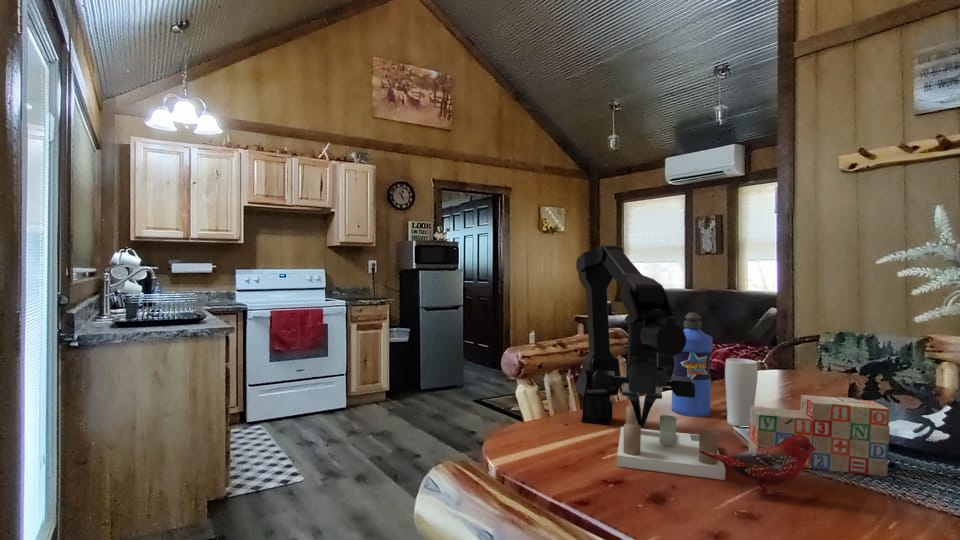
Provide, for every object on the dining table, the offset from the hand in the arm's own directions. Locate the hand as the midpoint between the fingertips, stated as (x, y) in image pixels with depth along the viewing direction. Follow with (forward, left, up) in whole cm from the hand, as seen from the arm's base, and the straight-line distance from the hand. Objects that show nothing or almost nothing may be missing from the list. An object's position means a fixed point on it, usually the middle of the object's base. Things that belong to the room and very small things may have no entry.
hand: (641, 427), depth 103 cm
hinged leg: (+5, +3, -3) cm, 7 cm away
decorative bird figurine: (+18, -13, -5) cm, 23 cm away
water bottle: (+12, +35, -5) cm, 38 cm away
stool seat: (+5, 0, -5) cm, 7 cm away
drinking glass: (+22, +27, -5) cm, 35 cm away
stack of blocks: (+31, +6, -5) cm, 32 cm away
